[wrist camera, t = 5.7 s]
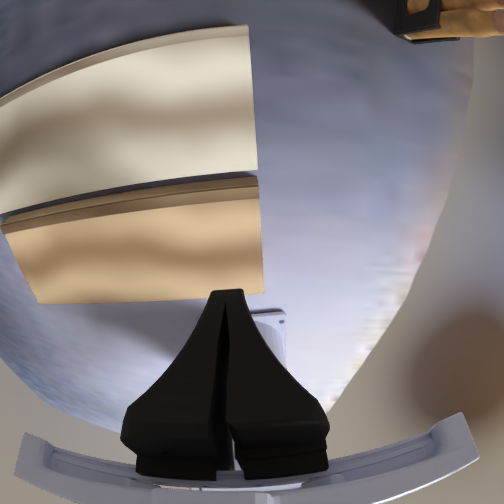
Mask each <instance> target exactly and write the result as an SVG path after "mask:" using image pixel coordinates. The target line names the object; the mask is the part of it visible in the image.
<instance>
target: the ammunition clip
mask: <svg viewBox="0 0 504 504" xmlns="http://www.w3.org/2000/svg"><path fill="white" fill-rule="evenodd" d="M494 9H504V0H398V7H397V14H396V21H395V27H394V34H395V35H396V36H398V37H400V38H402V39H404V40H406V41H408V42H410V43H412V44H414V45H415V44H423V43H432V42H442V41H459V40H460V37H488V36H492V35H504V12H496V11H491V10H494Z"/></svg>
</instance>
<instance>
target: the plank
mask: <svg viewBox="0 0 504 504" xmlns="http://www.w3.org/2000/svg"><path fill="white" fill-rule="evenodd" d="M248 170H258V167H257V151H256V134H255V119H254V103H253V88H252V74H251V60H250V46H249V30H248V25H237V26H224V27H215V28H206V29H198V30H192V31H185V32H179V33H174V34H169V35H164V36H159V37H154V38H150V39H145V40H141V41H137V42H134V43H130V44H126V45H123V46H119V47H116V48H113V49H109V50H106V51H103V52H100V53H97V54H94V55H91V56H89V57H86V58H83V59H80V60H78V61H75V62H73V63H70V64H68V65H65V66H63V67H61V68H58V69H56V70H54V71H51V72H49V73H47V74H45V75H43V76H41V77H39V78H37V79H35V80H32V81H31V82H29V83H27V84H25V85H23V86H21V87H19V88H17V89H15V90H14V91H12V92H10V93H8V94H7V95H5V96H3V97H2V98H0V214H2V213H5V212H9V211H12V210H16V209H20V208H23V207H27V206H31V205H35V204H39V203H43V202H47V201H52V200H56V199H60V198H65V197H69V196H74V195H79V194H83V193H88V192H93V191H98V190H104V189H109V188H115V187H120V186H126V185H132V184H138V183H145V182H151V181H158V180H165V179H173V178H180V177H188V176H197V175H206V174H215V173H225V172H236V171H248Z"/></svg>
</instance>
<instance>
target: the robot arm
mask: <svg viewBox="0 0 504 504" xmlns="http://www.w3.org/2000/svg"><path fill="white" fill-rule="evenodd" d="M280 320H282V321H280ZM286 335H287V315H286V313H285V312H272V313H261V314H250V311H249V309H248V306H247V303H246V300H245V296H244V290H243V289H241V288H237V289H225V290H213V291H212V292H211V293H210V296H209V298H208V301H207V304H206V306H205V308H204V311H203V313H202V315H201V317H200V319H199V321H198V323H197V325H196V327H195V329H194V330H193V332H192V334H191V336H190V337H189V339H188V341H187V342H186V344H185V345H184V347H183V349H182V350H181V351H180V353H179V354H178V356H177V357H176V358H175V360H174V361H173V362H172V364H171V365H170V366H169V367H168V369H167V370H166V371H165V372H164V373H163V374H162V376H161V377H160V378H159V379H158V380H157V381H156V382H155V383H154V384H153V385H152V386H151V387H150V388H149V389H148V390H147V391H146V392H145V393H144V394H143V395H142V396H140V397H139V398H138V399H137V400H136V401H135V402H133V403H132V404H131V405H130V406H129V407H128V408H127V411H126V414H125V417H124V420H123V425H122V430H121V436H120V439H121V441H122V443H123V444H124V445H125V446H126V447H128V448H129V449H130V450H132V451H133V452H134V453H135V454H137V460H136V465H132V464H126V463H120V462H115V461H109V460H104V459H100V458H95V457H90V456H86V455H82V454H79V453H75V452H71V451H68V450H64V449H61V448H57V447H54V446H53V445H52V444H50V443H49V442H48V441H46V440H44V439H42V438H40V437H37V436H34V435H31V434H28V433H24V436H23V439H22V443H21V447H20V451H19V455H18V459H17V463H16V468H15V472H14V475H15V476H16V477H18V478H20V479H22V480H24V481H26V482H28V483H30V484H32V485H34V486H36V487H38V488H40V489H42V490H45V491H47V492H49V493H52V494H54V495H56V496H59V497H62V498H64V499H67V500H70V501H73V502H75V503H78V504H383V503H386V502H389V501H392V500H395V499H398V498H400V497H403V496H405V495H408V494H411V493H413V492H415V491H418V490H420V489H422V488H425V487H427V486H429V485H431V484H434V483H436V482H438V481H440V480H442V479H444V478H446V477H448V476H450V475H452V474H454V473H456V472H457V471H459V470H461V469H463V468H465V467H466V466H468V465H470V464H471V463H473V462H475V461H476V460H478V459H479V454H478V451H477V448H476V446H475V443H474V440H473V437H472V435H471V433H470V430H469V427H468V425H467V422H466V420H465V418H464V415H463V413H462V412H459V413H457V414H455V415H453V416H451V417H448V418H446V419H444V420H442V421H440V422H438V423H437V424H435V425H434V426H433V427H432V428H431V430H429V431H427V432H424V433H421V434H419V435H416V436H413V437H411V438H408V439H405V440H402V441H399V442H396V443H393V444H390V445H387V446H383V447H380V448H377V449H373V450H369V451H366V452H362V453H358V454H354V455H350V456H345V457H341V458H336V459H331V460H328V458H327V453H326V449H327V445H326V440H325V438H326V436H327V434H328V432H329V430H330V425H329V422H328V419H327V416H326V414H325V412H324V410H323V408H322V407H321V405H320V403H319V402H318V400H317V399H316V398H315V397H314V396H312V395H311V394H310V393H309V392H308V391H307V390H306V389H305V388H303V387H302V386H301V385H300V384H299V383H298V382H297V381H296V380H295V379H294V378H293V376H292V375H291V374H290V373H289V372H288V371H287V366H286ZM153 484H156V485H153ZM158 485H165V486H176V487H188V488H189V490H182V489H169V488H161V487H160V486H158Z"/></svg>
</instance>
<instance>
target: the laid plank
mask: <svg viewBox="0 0 504 504" xmlns="http://www.w3.org/2000/svg"><path fill="white" fill-rule="evenodd" d="M0 227H1V230H2V232H3V234H5V236H6V238H7V240H8V243H9V245H10V247H11V249H12V252H13V254H14V256H15V258H16V260H17V262H18V264H19V266H20V268H21V270H22V272H23V274H24V276H25V278H26V280H27V282H28V284H29V286H30V288H31V290H32V291H33V293H34V295H35V297H36V299H37V300H38V302H39V304H81V303H120V302H145V301H166V300H184V299H200V298H209V296H210V293H211V292H212V291H213V290H225V289H237V288H241V289H243V290H244V295H253V294H264V276H263V257H262V238H261V220H260V203H259V185H258V180H257V176H256V177H243V178H232V179H221V180H211V181H202V182H193V183H185V184H177V185H169V186H161V187H154V188H147V189H141V190H134V191H128V192H122V193H116V194H110V195H104V196H99V197H94V198H88V199H83V200H78V201H73V202H68V203H64V204H59V205H54V206H50V207H45V208H41V209H37V210H33V211H28V212H24V213H20V214H17V215H13V216H10V217H9V218H7V219H6V220H5V221H4V222H3V223H2V224H1V226H0Z"/></svg>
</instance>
